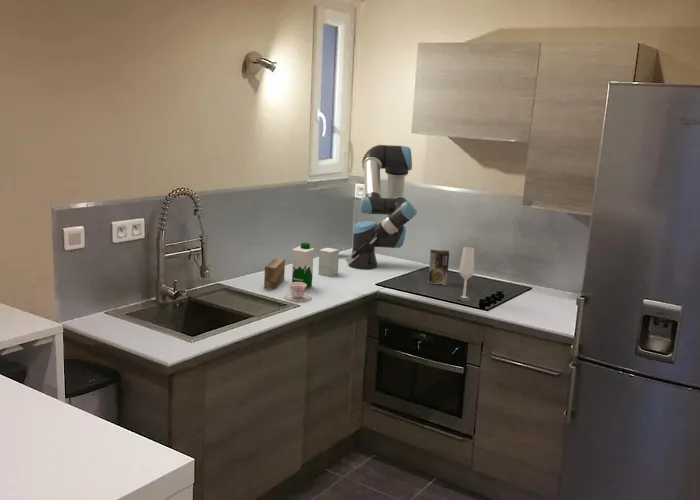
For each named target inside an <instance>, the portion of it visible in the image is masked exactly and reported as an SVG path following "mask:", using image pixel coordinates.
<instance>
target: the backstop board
mask: <svg viewBox="0 0 700 500" xmlns="http://www.w3.org/2000/svg"><path fill="white" fill-rule="evenodd" d="M285 266H286V259H285V258H276V257H275V258H273V259H272V260H271V261H270V262H269V263H268V264H266V265H265V266H264V277H263V278H264V279H263V280H264V282H263V283H264V287H263V288H264V289H268V290H269V289H270V290H276V289H277V288H278V286H280V285H281V283H283V281H284V280H285V269H286V267H285Z"/></svg>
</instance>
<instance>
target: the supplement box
mask: <svg viewBox="0 0 700 500" xmlns="http://www.w3.org/2000/svg"><path fill="white" fill-rule="evenodd" d="M318 250H319V251H318V252H319V253H318V275H320V276H325V277H334V276H336V275H338V274H339V259H340V257H339V256H340V255H339V254H340V249H336V248H332V247H324V248H321V249H318Z"/></svg>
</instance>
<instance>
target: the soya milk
mask: <svg viewBox="0 0 700 500" xmlns="http://www.w3.org/2000/svg"><path fill="white" fill-rule="evenodd" d="M310 244H311V243H309V242H301V243H300V246H297V247H294V248H293V249H292V275H291V276H292V277H291V283H292V282H302V283H305V284H307V287H306V288H305V290H307V289H309V288H311V287H312V285H313V271H314V270H313V269H314V255H315V254H314V253H315V248H313V247H311V246H310Z"/></svg>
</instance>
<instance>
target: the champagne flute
mask: <svg viewBox="0 0 700 500" xmlns="http://www.w3.org/2000/svg"><path fill="white" fill-rule="evenodd" d="M474 273H475V248H474V247H470V246H464V247H463V250H462V253H461V259H460V265H459V270H458V274H459V275H460V276H461V277H462V279H464V280H463V281H464V282H463V288H462V289H463V291H462V295H461V297H462V298H469V297H468V295H466V294H467V283H468V280H469V279H470V278H471V277H473V275H475V274H474Z"/></svg>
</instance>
